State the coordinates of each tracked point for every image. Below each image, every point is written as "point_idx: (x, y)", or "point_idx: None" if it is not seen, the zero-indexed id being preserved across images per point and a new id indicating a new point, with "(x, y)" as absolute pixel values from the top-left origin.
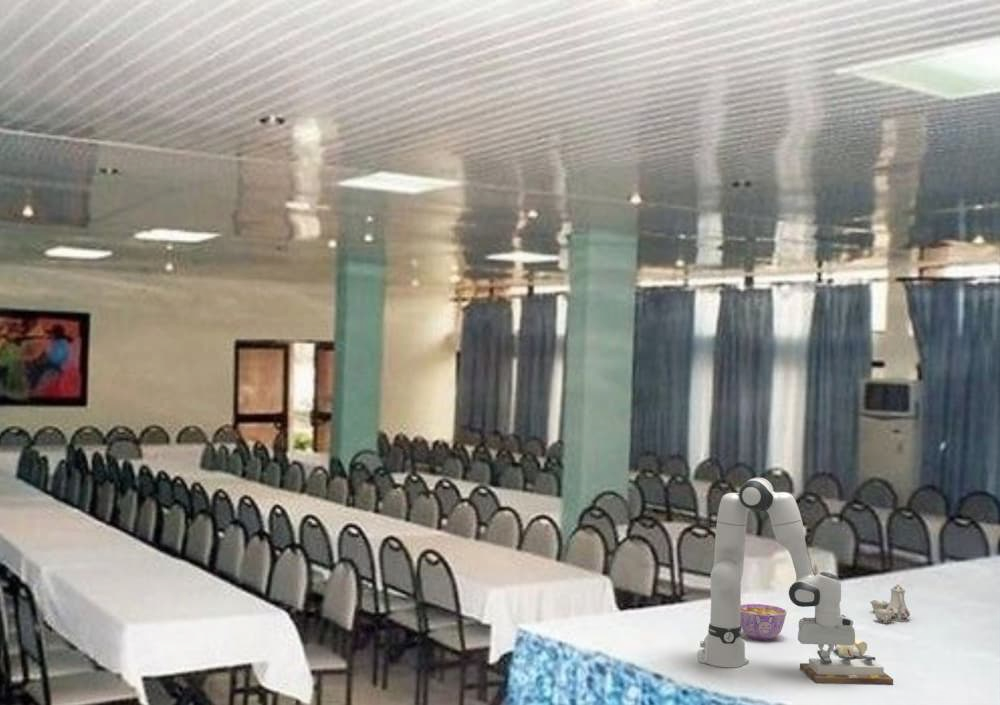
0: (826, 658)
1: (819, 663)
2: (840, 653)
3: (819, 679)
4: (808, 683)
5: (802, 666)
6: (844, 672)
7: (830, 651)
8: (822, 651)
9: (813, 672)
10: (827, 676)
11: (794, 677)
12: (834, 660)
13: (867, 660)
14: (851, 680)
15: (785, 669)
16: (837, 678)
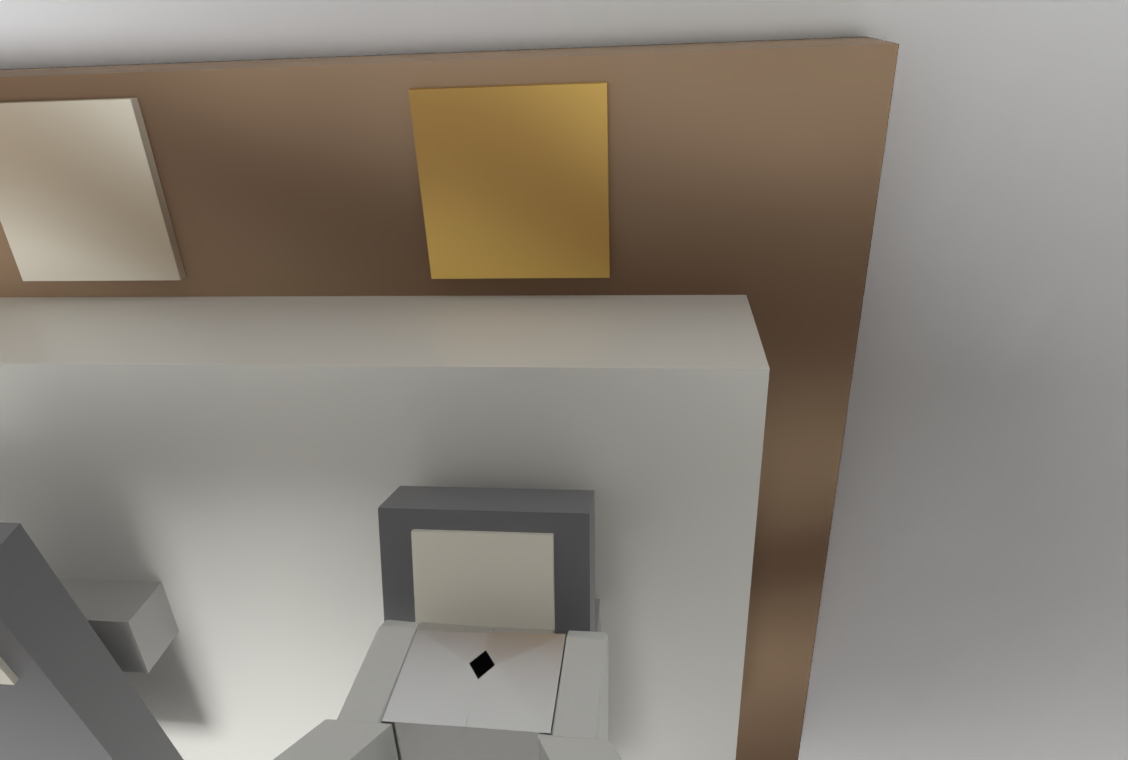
0: (483, 613)
1: (649, 555)
2: None
3: (805, 45)
4: (1035, 15)
5: (799, 718)
6: (201, 313)
7: (325, 738)
8: (601, 752)
9: (781, 410)
10: (601, 126)
11: (1101, 384)
12: (290, 715)
13: None
14: (132, 70)
15: (1007, 721)
16: (401, 60)
